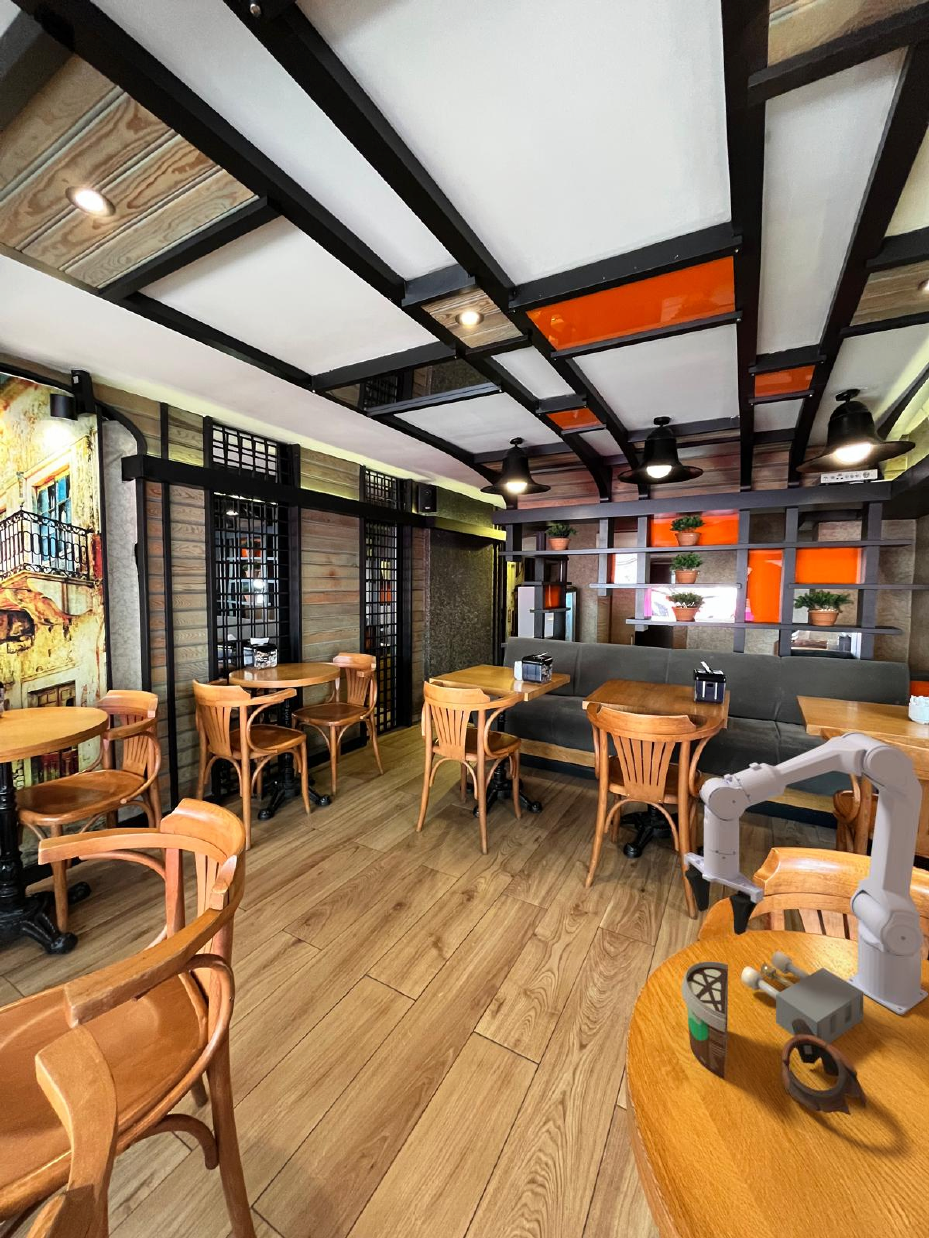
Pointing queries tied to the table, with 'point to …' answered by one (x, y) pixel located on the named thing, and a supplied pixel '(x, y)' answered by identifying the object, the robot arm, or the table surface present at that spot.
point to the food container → (708, 1013)
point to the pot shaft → (774, 974)
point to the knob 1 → (757, 982)
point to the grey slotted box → (821, 1005)
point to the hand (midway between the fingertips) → (720, 920)
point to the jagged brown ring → (833, 1065)
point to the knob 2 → (787, 965)
